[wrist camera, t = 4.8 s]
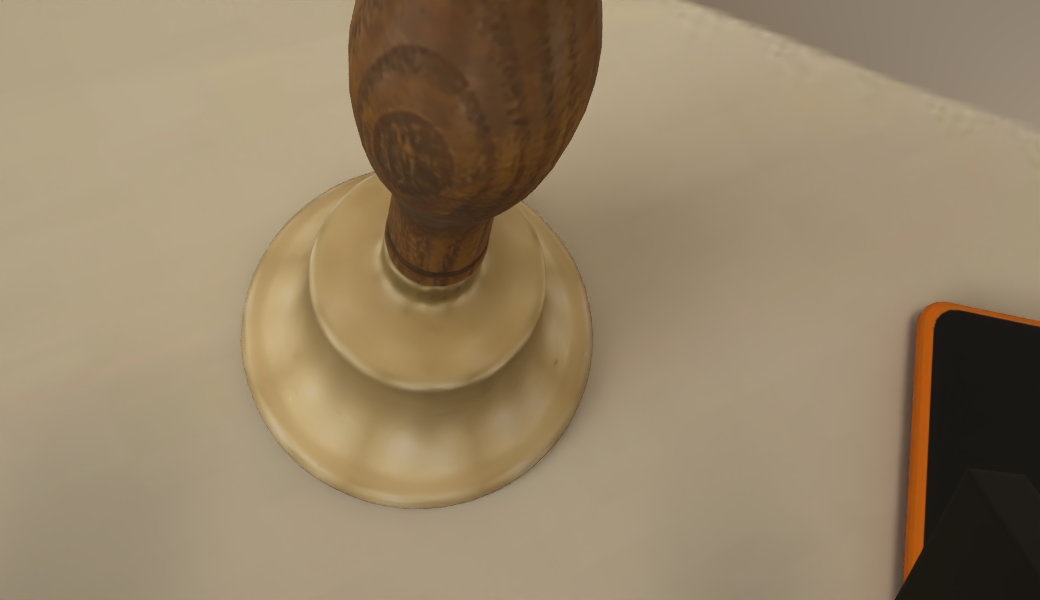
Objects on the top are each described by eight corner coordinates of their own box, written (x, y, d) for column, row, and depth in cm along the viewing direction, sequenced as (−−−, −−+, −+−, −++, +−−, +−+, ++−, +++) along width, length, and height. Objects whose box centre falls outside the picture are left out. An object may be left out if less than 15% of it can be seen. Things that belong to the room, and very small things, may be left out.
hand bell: (244, 168, 22) (-62, -603, 7) (578, 169, 24) (933, -487, 8) (239, 519, 21) (-194, 502, 5) (602, 498, 22) (1122, 439, 6)
